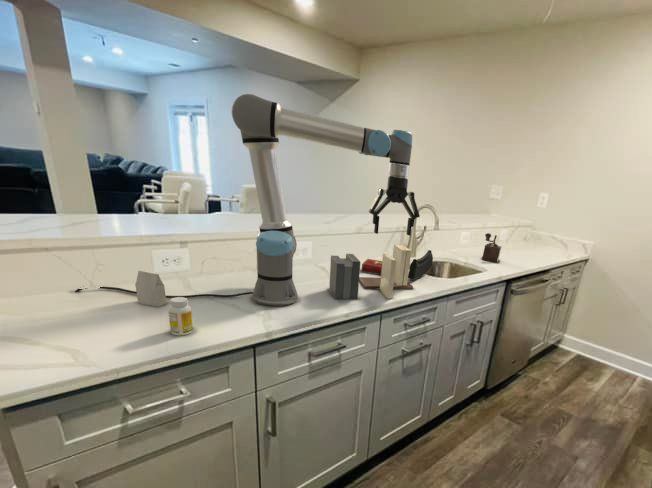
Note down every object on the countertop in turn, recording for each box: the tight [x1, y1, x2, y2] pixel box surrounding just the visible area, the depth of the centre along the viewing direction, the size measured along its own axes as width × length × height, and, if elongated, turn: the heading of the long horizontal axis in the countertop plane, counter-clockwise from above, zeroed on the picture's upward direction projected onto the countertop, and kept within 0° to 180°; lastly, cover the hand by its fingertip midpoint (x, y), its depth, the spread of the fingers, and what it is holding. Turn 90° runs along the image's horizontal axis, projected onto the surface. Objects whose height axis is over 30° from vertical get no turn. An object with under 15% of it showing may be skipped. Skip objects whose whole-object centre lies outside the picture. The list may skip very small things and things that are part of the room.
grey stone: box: [134, 270, 167, 307], centre depth 119 cm, size 4×7×10 cm, turn 79°
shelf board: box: [359, 276, 414, 290], centre depth 173 cm, size 22×13×1 cm, turn 112°
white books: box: [392, 243, 412, 286], centre depth 172 cm, size 4×11×16 cm, turn 22°
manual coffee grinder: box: [481, 232, 502, 264], centre depth 250 cm, size 16×11×18 cm
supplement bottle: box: [167, 297, 194, 336], centre depth 105 cm, size 5×5×10 cm
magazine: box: [408, 249, 434, 280], centre depth 193 cm, size 17×3×30 cm
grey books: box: [328, 253, 361, 300], centre depth 151 cm, size 9×12×15 cm
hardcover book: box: [361, 258, 383, 275], centre depth 191 cm, size 12×21×4 cm, turn 84°
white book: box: [379, 252, 396, 299], centre depth 158 cm, size 2×11×16 cm, turn 22°
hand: (392, 234), depth 151 cm, fingers open, 13 cm apart
